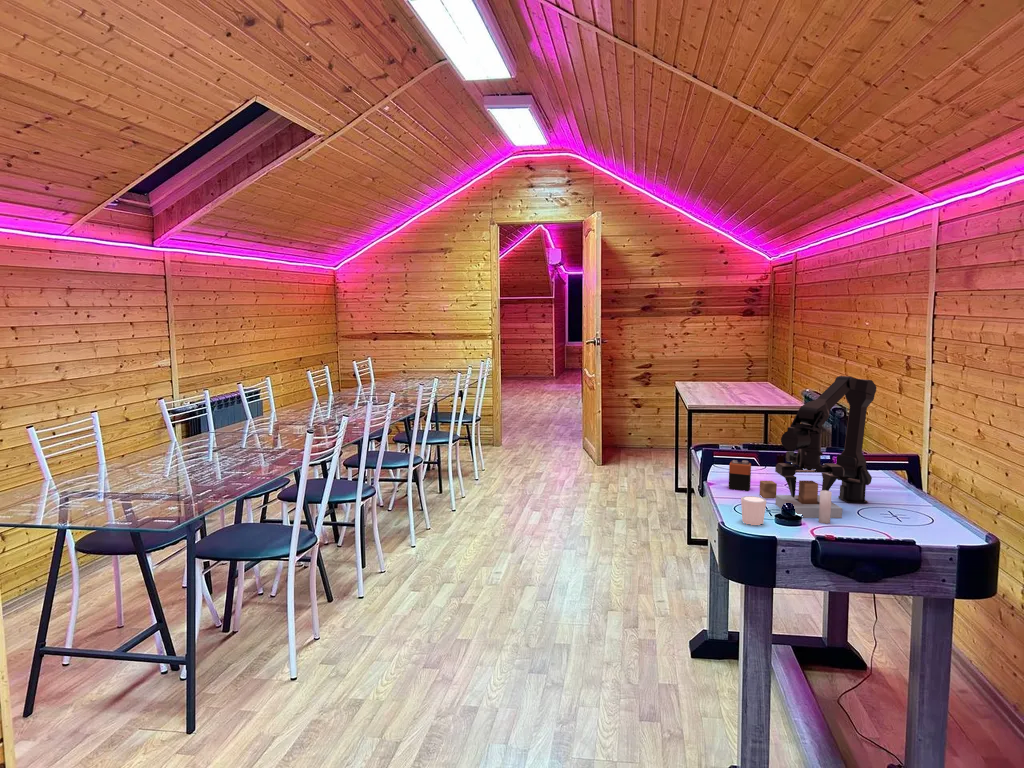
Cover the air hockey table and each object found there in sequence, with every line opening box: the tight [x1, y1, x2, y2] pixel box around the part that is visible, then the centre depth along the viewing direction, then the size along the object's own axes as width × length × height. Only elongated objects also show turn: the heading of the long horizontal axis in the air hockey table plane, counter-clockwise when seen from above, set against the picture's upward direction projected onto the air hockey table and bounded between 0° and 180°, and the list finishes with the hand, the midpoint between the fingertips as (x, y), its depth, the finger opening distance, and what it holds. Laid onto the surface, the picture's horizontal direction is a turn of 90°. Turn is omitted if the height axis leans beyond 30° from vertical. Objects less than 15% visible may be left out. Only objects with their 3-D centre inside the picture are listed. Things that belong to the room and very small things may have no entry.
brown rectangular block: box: [798, 480, 819, 504], centre depth 195 cm, size 4×4×9 cm
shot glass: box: [740, 495, 767, 526], centre depth 184 cm, size 7×7×7 cm
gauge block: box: [775, 489, 843, 525], centre depth 193 cm, size 14×20×9 cm
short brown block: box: [759, 480, 778, 500], centre depth 212 cm, size 4×4×5 cm
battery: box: [728, 459, 752, 492], centre depth 221 cm, size 4×7×10 cm, turn 64°
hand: (808, 497), depth 195 cm, fingers open, 9 cm apart
